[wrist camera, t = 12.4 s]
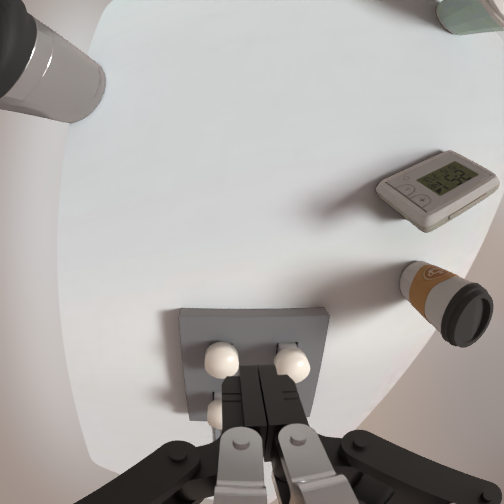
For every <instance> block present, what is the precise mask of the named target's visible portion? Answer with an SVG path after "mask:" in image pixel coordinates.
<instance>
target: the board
mask: <svg viewBox="0 0 504 504" xmlns="http://www.w3.org/2000/svg"><path fill="white" fill-rule="evenodd" d="M329 317H330V315H329V314H328V312H327V311H326V309H325V308H291V309H198V308H181V311H180V314H179V325H180V338H181V349H182V360H183V370H184V379H185V388H186V396H187V404H188V412H189V419H190V421H207V414H208V405H209V404H210V403H211V402H212V401H214V395H213V392H222V383H223V381H224V380H225V378H224V379H220V378H215V377H213V376H211V375H210V374H208V373H207V371H206V369H205V353H206V350H207V348H208V347H209V346H210V345H211V343H217V342H226V343H232V345H233V346H234V347H235V348H236V350H237V352H238V361H239V364H256V365H257V364H274V358H275V356H276V355H277V350H276V348H277V343H284V342H295V343H296V345H297V348H299V349H301V350H302V351H303V352H304V353H305V355H306V357H307V360H308V362H309V365H310V372H309V374H308V376H307V377H306V378H305V379H304V380H302V381H301V382H298V383H295V384H296V388H297V392H298V394H299V397H300V400H301V403H302V406H303V409H304V412H305V415H306V417H310V413H311V409H312V404H313V400H314V396H315V391H316V386H317V382H318V377H319V372H320V367H321V362H322V357H323V352H324V346H325V341H326V335H327V329H328V323H329ZM238 369H239V368H238ZM233 376H238V371H237V372H236V373H235V374H234V375H233Z"/></svg>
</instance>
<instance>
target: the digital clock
mask: <svg viewBox="0 0 504 504" xmlns="http://www.w3.org/2000/svg"><path fill="white" fill-rule="evenodd" d="M499 184H500V181H499V179H498V178H497V176H496V175H495V174H494V173H492V172H491V171H489V170H487V169H486V168H484V167H482V166H480V165H479V164H477V163H475V162H473V161H471V160H469V159H467V158H466V157H464V156H462V155H460V154H458V153H456V152H454V151H450V150H448V151H445V152H443V153H440V154H438V155H436V156H434V157H431V158H429V159H427V160H425V161H423V162H420V163H418V164H416V165H414V166H412V167H409V168H407V169H405V170H403V171H401V172H399V173H396V174H394V175H392V176H390V177H388V178H386V179H384V180H382V181H380V183H379V184H378V186H377V187H376V192H377V194H378V196H379V197H380V198H382V199H383V200H384V201H385V202H386V203H388V204H389V205H390V206H391V207H393V208H394V209H395V210H396V211H398V212H399V213H400V214H401V215H403V216H404V218H405V219H406V220H408V221H410V222H411V223H412V224H413V225H414V226H416V227H417V228H418V229H419V230H421V231H423V232H425V233H428V232H431V231H433V230H435V229H436V228H438V227H440V226H442V225H443V224H445V223H447V222H448V221H450V220H452V219H453V218H455V217H457V216H458V215H460V214H462V213H463V212H465V211H466V210H468V209H470V208H471V207H473V206H474V205H476V204H477V203H479V202H481V201H482V200H484V199H485V198H487V197H488V196H490V195H491V194H493V193H494V192H495V191H496V190H497V189H498V187H499Z"/></svg>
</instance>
